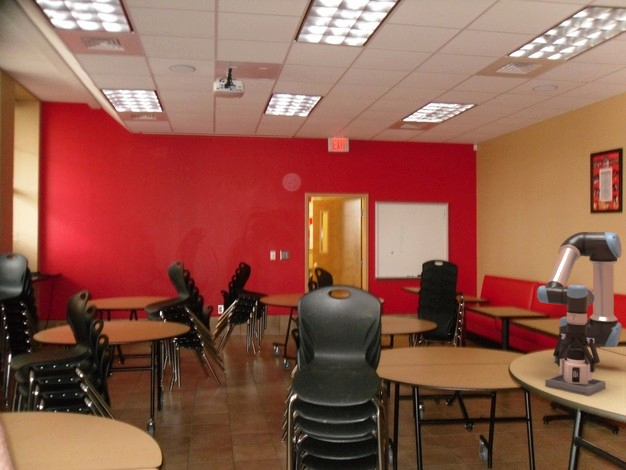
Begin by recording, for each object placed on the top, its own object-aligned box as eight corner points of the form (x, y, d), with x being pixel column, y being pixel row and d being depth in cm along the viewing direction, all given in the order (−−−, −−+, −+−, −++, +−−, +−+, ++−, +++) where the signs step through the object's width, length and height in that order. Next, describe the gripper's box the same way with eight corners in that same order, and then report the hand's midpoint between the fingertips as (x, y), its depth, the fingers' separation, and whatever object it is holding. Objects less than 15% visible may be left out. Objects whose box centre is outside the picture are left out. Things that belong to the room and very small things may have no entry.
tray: (563, 379, 238) (563, 373, 238) (605, 388, 226) (605, 381, 226) (545, 386, 227) (545, 379, 227) (588, 396, 214) (588, 388, 214)
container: (588, 384, 222) (589, 352, 222) (567, 383, 223) (568, 351, 223) (582, 380, 229) (583, 348, 229) (563, 378, 231) (563, 347, 231)
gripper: (545, 320, 232) (543, 372, 232) (602, 327, 215) (601, 384, 215) (553, 318, 237) (551, 370, 237) (610, 326, 220) (608, 381, 220)
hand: (575, 377), depth 226 cm, fingers closed on container, 10 cm apart
